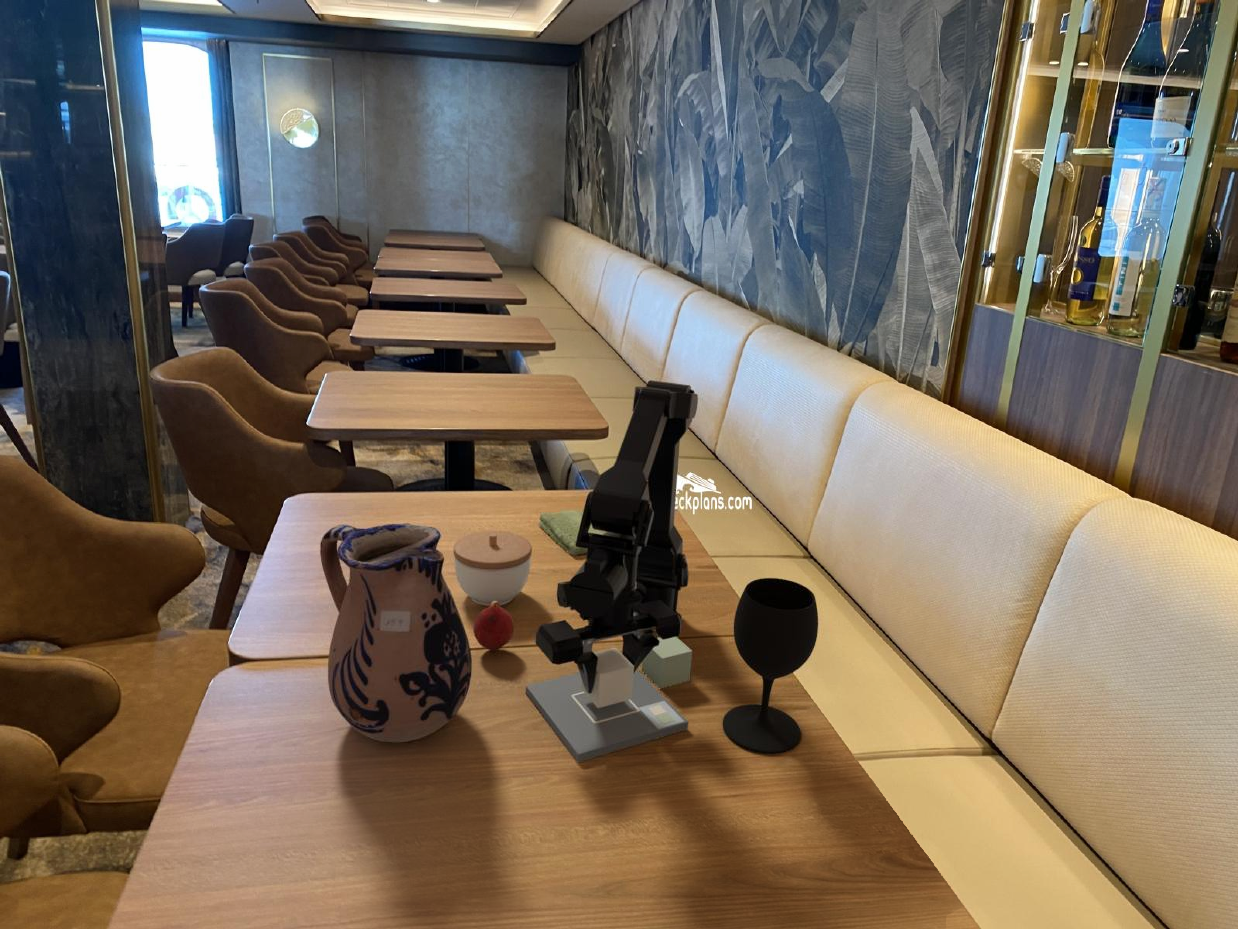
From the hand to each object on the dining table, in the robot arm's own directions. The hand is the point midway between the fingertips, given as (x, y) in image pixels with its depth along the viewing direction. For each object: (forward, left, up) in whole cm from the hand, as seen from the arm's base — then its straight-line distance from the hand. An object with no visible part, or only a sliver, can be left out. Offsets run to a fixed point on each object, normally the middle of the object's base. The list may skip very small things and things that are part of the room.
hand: (606, 687), depth 116 cm
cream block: (0, 0, -1) cm, 1 cm away
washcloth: (-23, -53, -4) cm, 58 cm away
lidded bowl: (+2, -36, -4) cm, 36 cm away
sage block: (-12, -4, -4) cm, 13 cm away
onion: (+8, -20, -4) cm, 22 cm away
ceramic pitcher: (+26, -10, -4) cm, 28 cm away
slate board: (0, 0, -4) cm, 4 cm away
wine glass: (-17, +12, -4) cm, 21 cm away
